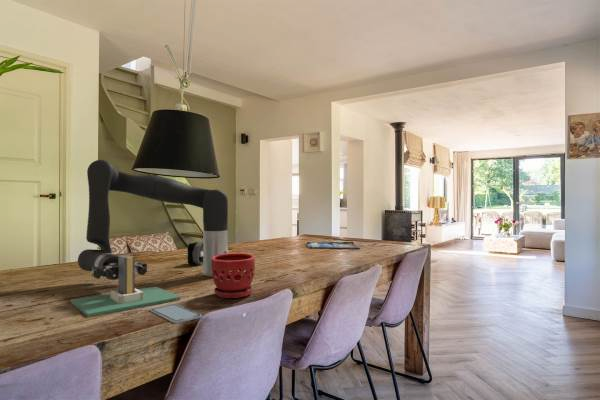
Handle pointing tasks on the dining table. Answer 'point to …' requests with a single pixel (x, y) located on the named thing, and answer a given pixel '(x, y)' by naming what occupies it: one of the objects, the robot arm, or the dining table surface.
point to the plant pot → (233, 274)
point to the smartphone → (176, 313)
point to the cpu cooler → (195, 253)
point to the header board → (122, 301)
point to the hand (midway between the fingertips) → (128, 273)
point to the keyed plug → (126, 274)
